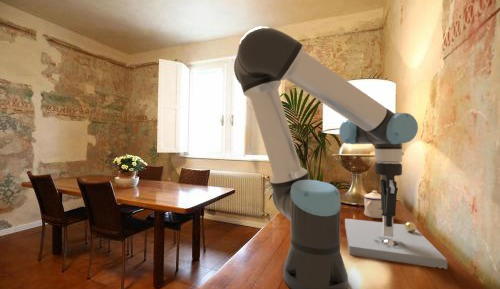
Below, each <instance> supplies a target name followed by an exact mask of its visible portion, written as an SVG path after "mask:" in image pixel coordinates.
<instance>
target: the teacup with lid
mask: <svg viewBox="0 0 500 289" xmlns="http://www.w3.org/2000/svg"><path fill="white" fill-rule="evenodd" d="M363 198H364V202H363V203H364V205H363V206H364V208H363V209H364V210H363V211H364V212H363V214H364V216H366V217H369V218H374V219H383V216H382V211H383V210H381V193H378V191H377V190H372V191H371V192H369V193H366V194H364V195H363Z"/></svg>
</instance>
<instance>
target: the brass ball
mask: <svg viewBox="0 0 500 289" xmlns="http://www.w3.org/2000/svg"><path fill="white" fill-rule="evenodd" d="M404 225H405V229H406V230H407V231H408V232H414V231H416V229H417V226H416V224H415V223H414V222H412V221H408V222H406V223H405V224H404Z"/></svg>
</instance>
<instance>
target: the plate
mask: <svg viewBox="0 0 500 289" xmlns="http://www.w3.org/2000/svg"><path fill="white" fill-rule="evenodd" d="M344 226H345V235H346V241H347V247H348V248H347V249H348V253H349V255H351V256H358V257H364V258H365V257H366V258H371V259H375V260H377V259H378V260H383V261H384V260H385V261H391V262H397V263H403V264H411V265H417V266H423V267H431V268H436V267H438V268H437V269H442V268H444V269H443V270H448V259H447V258H446V257H445V256H444V255H443V254H442V253H441V252H440V251H439V249H437V248H436V247H435V246H434V245H433V244H432V243H431V242H430V241H429V240H428V239H427V238H426V237H425V236H424V235H423V234H422V233H421V232H420V231H419V230H418V229H417V228H416V231H414V232H408V231H407V230H406V229H405V224H400V223H393V237H390V236H384V235H383V221H373V220H365V219H363V220H362V219H353V218H344ZM385 239H390V240H392V241H393V242H394V244H395V246H389V245H386V244H384V243H383V241H384V240H385Z"/></svg>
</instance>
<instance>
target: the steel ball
mask: <svg viewBox="0 0 500 289" xmlns="http://www.w3.org/2000/svg"><path fill="white" fill-rule="evenodd" d="M383 243H384V244H386V245H389V246H395V244H394V242H393V241H392V240H390V239H385V240H384V241H383Z"/></svg>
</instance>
